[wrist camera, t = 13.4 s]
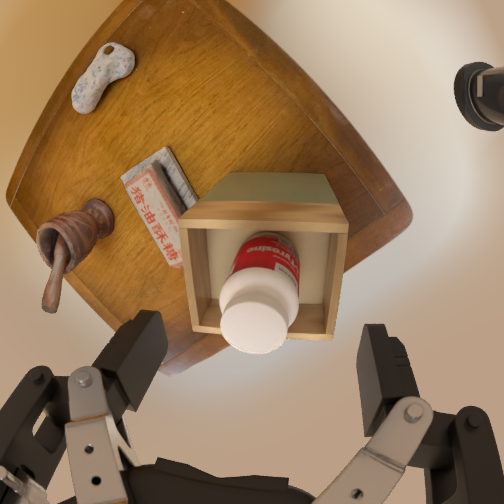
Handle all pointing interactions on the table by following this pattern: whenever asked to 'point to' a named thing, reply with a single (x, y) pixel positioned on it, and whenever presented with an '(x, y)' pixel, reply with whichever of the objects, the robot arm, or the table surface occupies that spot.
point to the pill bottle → (260, 294)
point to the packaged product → (161, 200)
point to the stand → (272, 188)
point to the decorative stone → (101, 76)
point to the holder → (259, 221)
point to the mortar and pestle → (70, 244)
